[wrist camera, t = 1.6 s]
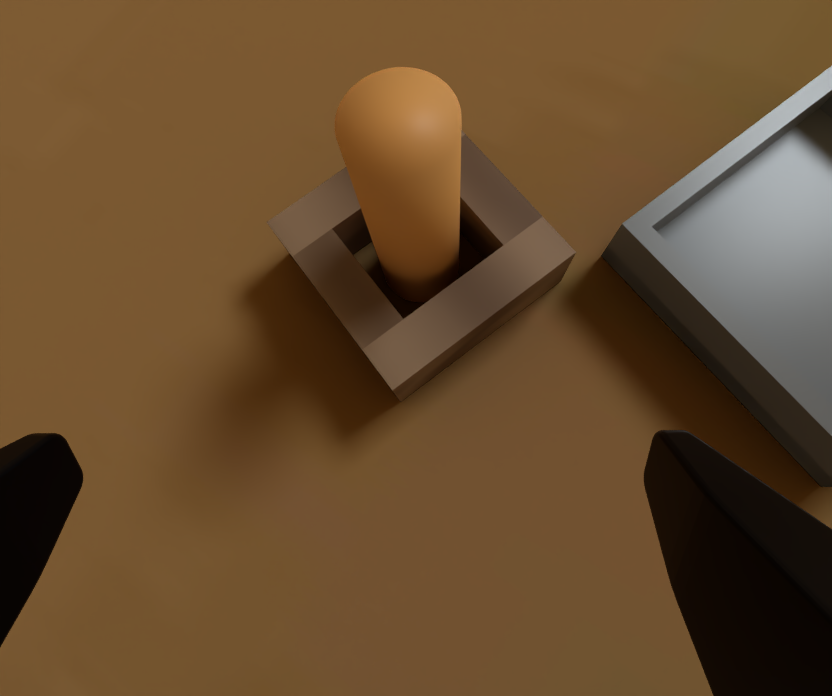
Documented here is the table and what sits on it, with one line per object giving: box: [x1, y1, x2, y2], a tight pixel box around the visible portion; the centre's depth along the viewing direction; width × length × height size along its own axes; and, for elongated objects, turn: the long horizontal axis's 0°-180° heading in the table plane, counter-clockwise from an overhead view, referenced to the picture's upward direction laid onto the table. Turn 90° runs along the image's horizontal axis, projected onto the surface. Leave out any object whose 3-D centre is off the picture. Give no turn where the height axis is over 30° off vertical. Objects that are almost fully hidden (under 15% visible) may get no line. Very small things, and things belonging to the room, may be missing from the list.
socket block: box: [267, 130, 576, 402], centre depth 22 cm, size 9×9×3 cm
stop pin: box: [335, 67, 462, 302], centre depth 19 cm, size 4×4×10 cm
